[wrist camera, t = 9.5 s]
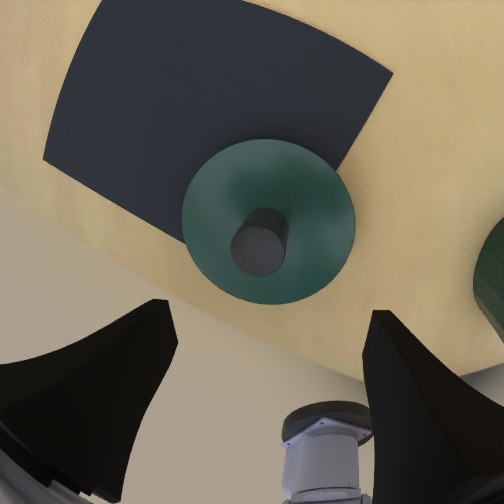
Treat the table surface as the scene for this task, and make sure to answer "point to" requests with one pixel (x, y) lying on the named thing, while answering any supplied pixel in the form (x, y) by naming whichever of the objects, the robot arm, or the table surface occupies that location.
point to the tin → (491, 279)
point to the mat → (199, 96)
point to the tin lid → (268, 221)
